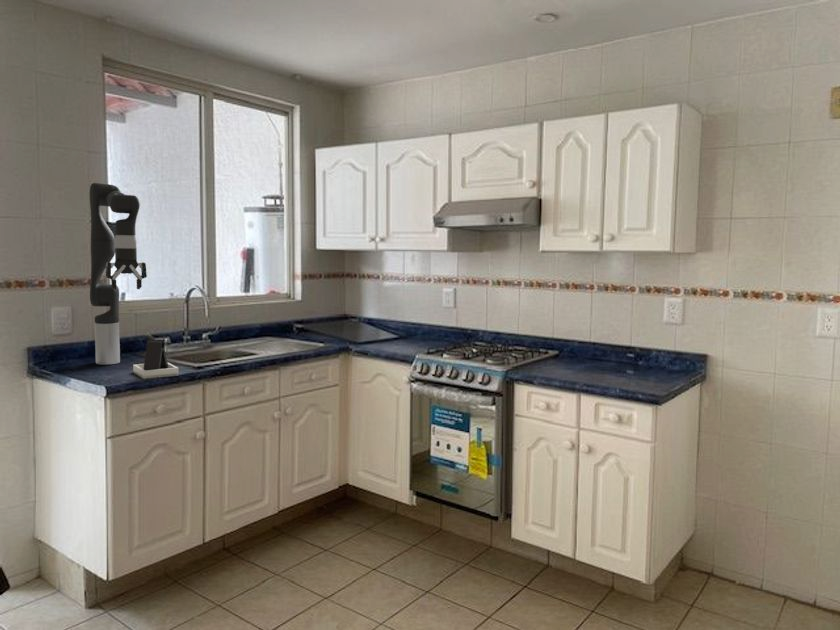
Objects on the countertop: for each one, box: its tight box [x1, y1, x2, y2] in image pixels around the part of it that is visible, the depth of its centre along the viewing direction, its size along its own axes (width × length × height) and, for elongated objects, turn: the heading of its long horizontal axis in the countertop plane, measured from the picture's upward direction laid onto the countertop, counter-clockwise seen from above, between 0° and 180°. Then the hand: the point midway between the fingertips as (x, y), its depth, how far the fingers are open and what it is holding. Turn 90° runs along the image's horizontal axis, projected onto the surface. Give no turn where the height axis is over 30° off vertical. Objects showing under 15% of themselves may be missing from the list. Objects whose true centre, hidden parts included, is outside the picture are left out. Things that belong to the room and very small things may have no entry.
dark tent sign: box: [143, 340, 169, 370], centre depth 251 cm, size 9×6×12 cm, turn 175°
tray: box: [132, 361, 180, 380], centre depth 251 cm, size 15×13×3 cm
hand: (126, 289), depth 248 cm, fingers open, 8 cm apart
